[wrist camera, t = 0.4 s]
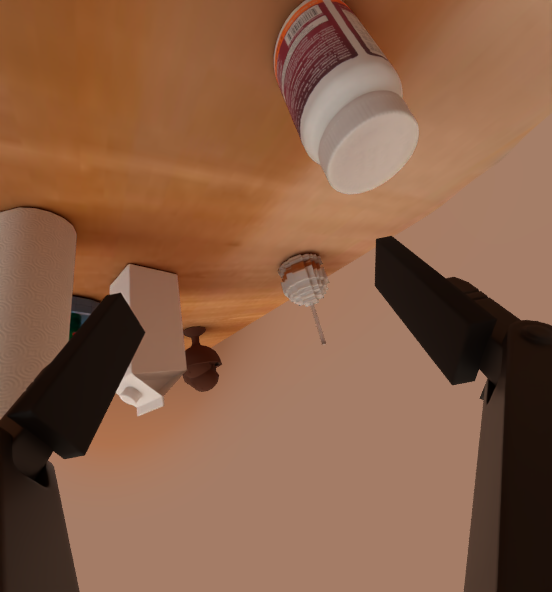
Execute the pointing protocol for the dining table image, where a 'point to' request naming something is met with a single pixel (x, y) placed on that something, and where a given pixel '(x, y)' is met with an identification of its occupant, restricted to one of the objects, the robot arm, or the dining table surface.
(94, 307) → the dish
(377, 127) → the pill bottle
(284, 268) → the candy apple
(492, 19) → the dining table surface
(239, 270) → the dining table surface
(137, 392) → the milk carton
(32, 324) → the paper towel roll
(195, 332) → the ice cream bowl
